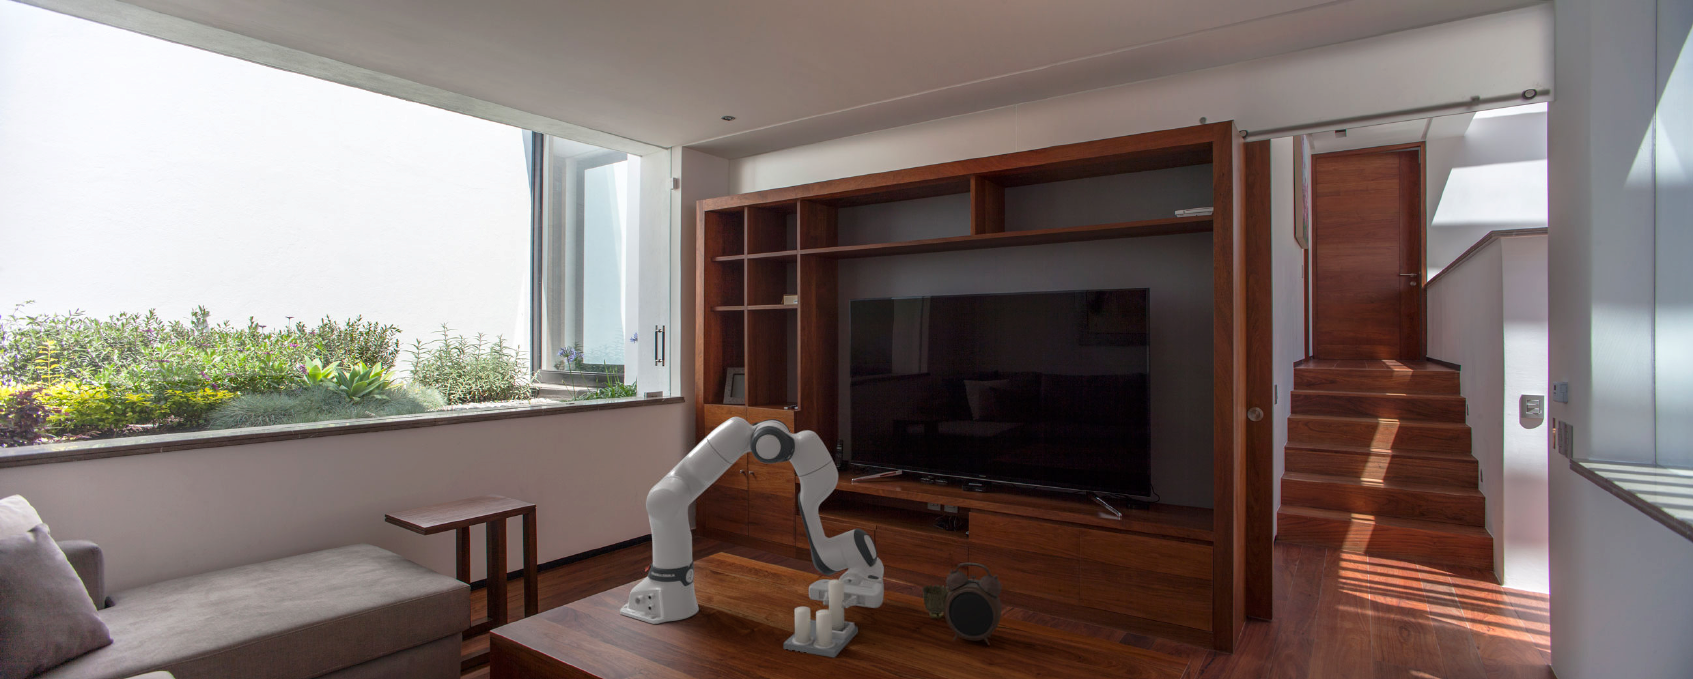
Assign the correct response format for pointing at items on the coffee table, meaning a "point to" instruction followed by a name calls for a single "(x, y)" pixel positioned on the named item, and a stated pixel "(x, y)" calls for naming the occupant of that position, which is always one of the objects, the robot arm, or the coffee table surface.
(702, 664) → the coffee table surface
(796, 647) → the pin board
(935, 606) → the cup
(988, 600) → the alarm clock
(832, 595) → the ivory pin
